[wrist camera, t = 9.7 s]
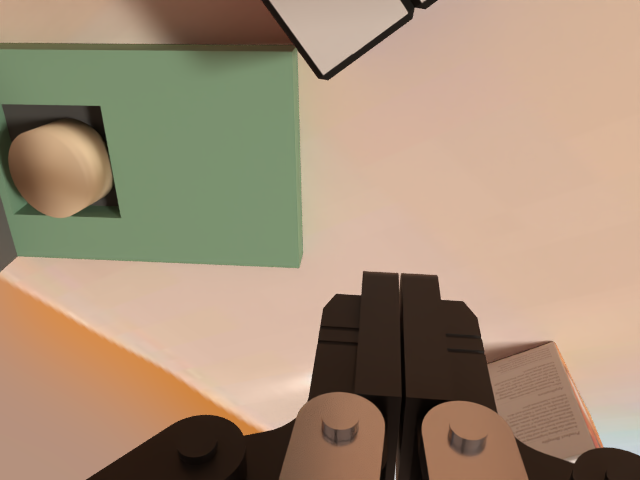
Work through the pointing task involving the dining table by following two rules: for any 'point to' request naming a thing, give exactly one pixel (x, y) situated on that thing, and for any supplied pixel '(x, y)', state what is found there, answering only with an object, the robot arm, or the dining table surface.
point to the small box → (543, 403)
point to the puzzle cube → (339, 28)
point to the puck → (61, 167)
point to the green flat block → (163, 151)
